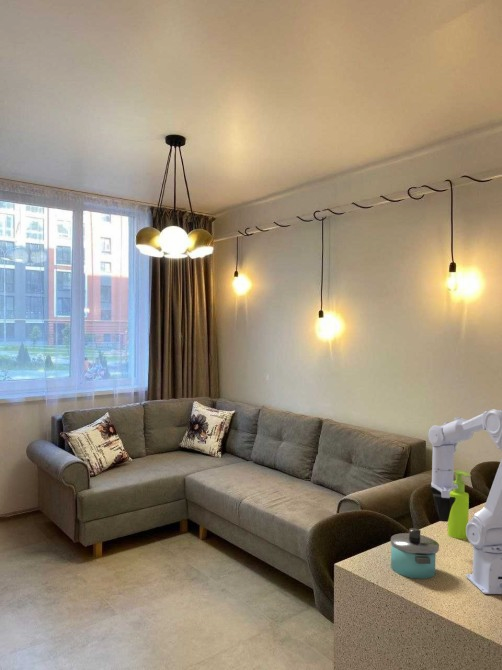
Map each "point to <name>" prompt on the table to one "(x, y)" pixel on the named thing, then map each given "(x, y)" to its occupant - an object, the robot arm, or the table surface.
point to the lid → (414, 543)
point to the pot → (412, 564)
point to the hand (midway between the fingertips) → (441, 516)
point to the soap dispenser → (459, 508)
